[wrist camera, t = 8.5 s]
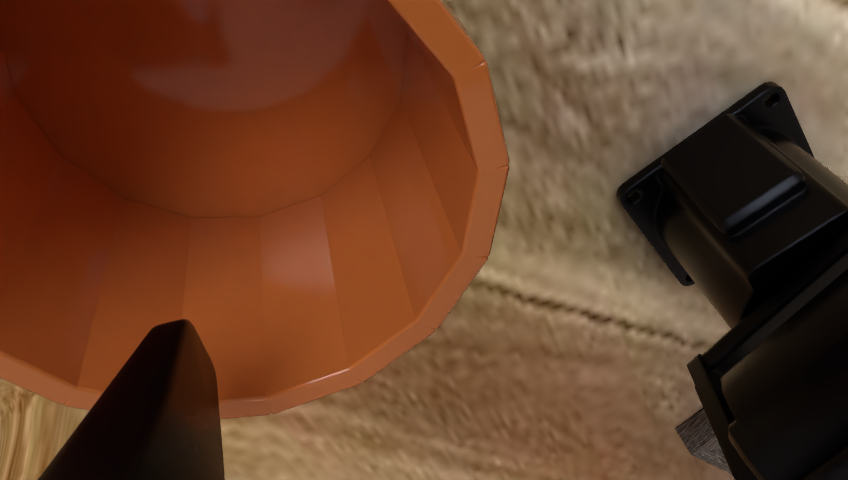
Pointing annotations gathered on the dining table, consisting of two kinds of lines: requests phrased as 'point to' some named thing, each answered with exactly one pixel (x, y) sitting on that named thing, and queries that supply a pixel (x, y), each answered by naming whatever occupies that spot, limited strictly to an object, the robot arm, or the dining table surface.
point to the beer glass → (31, 431)
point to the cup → (238, 188)
